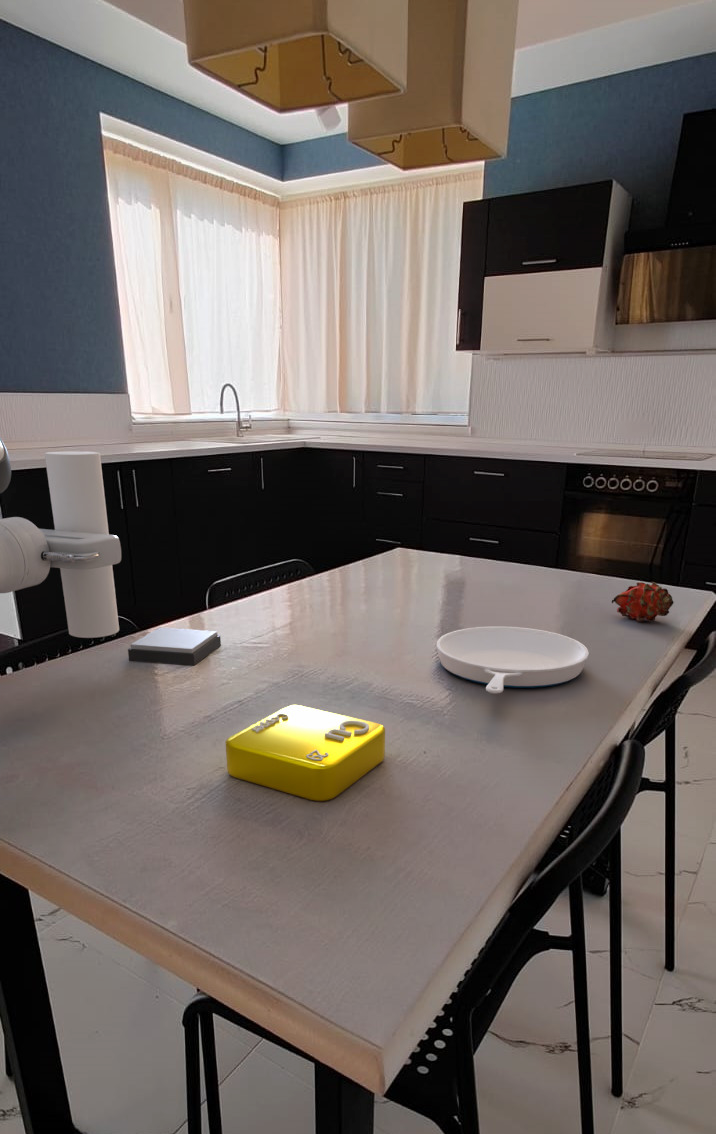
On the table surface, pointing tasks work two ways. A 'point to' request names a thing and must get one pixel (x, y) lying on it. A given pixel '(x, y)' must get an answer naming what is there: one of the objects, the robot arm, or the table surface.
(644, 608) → the dragon fruit
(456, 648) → the pan
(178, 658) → the scale
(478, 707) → the table surface
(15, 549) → the robot arm
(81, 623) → the cylindrical container
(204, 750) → the table surface
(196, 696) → the table surface
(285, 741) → the element tile
